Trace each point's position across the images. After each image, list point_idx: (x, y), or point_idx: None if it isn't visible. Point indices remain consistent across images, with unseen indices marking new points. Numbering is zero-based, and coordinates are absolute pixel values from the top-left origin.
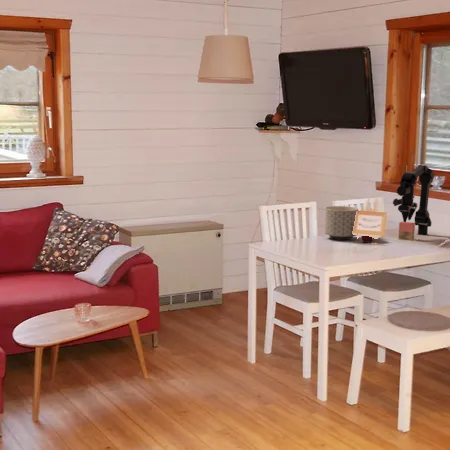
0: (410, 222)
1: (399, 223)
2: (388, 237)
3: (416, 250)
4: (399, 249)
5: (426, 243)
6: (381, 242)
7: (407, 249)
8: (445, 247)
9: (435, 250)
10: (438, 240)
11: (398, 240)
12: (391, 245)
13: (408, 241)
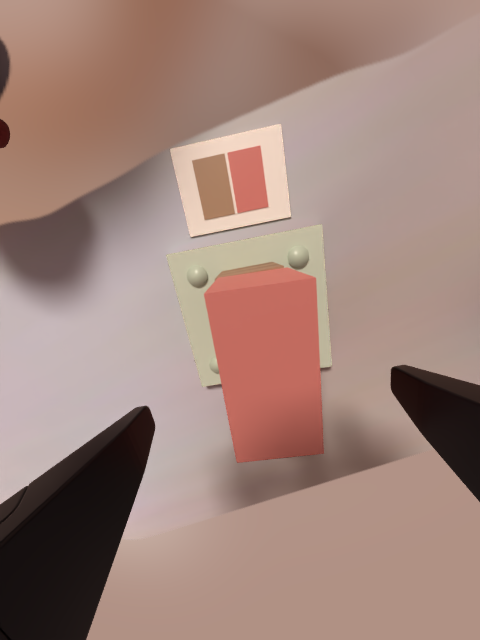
0: (313, 407)
1: (206, 294)
2: (312, 125)
3: (63, 458)
4: (4, 395)
5: None
6: (80, 203)
7: (43, 422)
8: (237, 509)
9: (138, 506)
10: (404, 429)
11: (182, 293)
12: (55, 311)
13: (201, 356)
